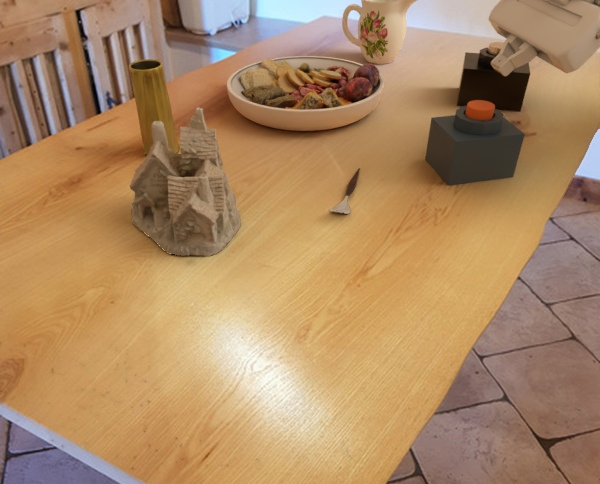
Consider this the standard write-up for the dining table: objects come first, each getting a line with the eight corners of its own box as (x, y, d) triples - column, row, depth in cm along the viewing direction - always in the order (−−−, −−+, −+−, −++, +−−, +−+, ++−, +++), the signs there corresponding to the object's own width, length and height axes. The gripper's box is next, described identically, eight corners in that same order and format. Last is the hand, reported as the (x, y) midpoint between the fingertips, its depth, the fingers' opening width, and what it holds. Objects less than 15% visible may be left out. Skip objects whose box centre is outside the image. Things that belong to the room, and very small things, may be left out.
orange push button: (484, 110, 84) (487, 98, 83) (497, 120, 81) (500, 108, 80) (460, 112, 84) (462, 101, 82) (472, 123, 81) (475, 111, 80)
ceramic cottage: (148, 188, 84) (128, 92, 73) (253, 201, 82) (248, 104, 71) (105, 253, 73) (75, 152, 62) (225, 269, 71) (215, 167, 60)
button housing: (485, 152, 92) (498, 99, 86) (513, 177, 86) (528, 122, 80) (424, 159, 91) (433, 106, 85) (447, 186, 84) (458, 129, 78)
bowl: (223, 140, 97) (219, 95, 92) (233, 80, 119) (230, 42, 114) (392, 136, 97) (397, 92, 92) (370, 78, 120) (373, 39, 115)
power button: (508, 52, 106) (511, 42, 104) (509, 58, 103) (511, 48, 101) (487, 50, 106) (489, 41, 105) (487, 57, 103) (489, 47, 102)
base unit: (518, 93, 113) (530, 46, 107) (520, 111, 105) (533, 63, 99) (458, 88, 115) (467, 42, 109) (456, 106, 108) (465, 58, 102)
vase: (151, 162, 91) (133, 73, 81) (138, 148, 95) (119, 62, 85) (185, 152, 93) (171, 66, 84) (171, 139, 97) (156, 55, 88)
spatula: (367, 172, 88) (368, 160, 86) (345, 225, 76) (345, 212, 75) (351, 170, 88) (352, 158, 87) (326, 222, 77) (327, 209, 75)
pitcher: (351, 47, 137) (354, -15, 128) (419, 57, 130) (428, -8, 121) (331, 59, 130) (333, -6, 121) (402, 71, 123) (410, 3, 114)
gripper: (640, 28, 68) (546, 112, 73) (549, -9, 83) (476, 62, 88) (623, -10, 64) (525, 80, 69) (531, -42, 79) (455, 34, 84)
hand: (497, 70), depth 79 cm, fingers closed
